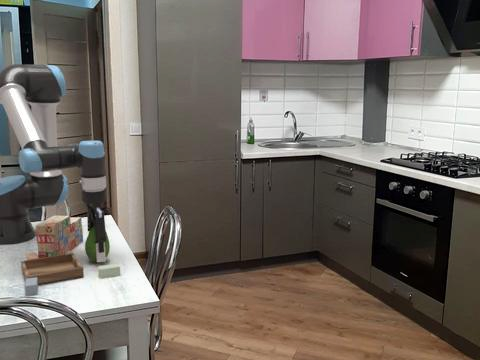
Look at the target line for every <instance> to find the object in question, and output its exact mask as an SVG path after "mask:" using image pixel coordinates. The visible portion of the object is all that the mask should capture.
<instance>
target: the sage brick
mask: <svg viewBox="0 0 480 360" xmlns="http://www.w3.org/2000/svg"><path fill="white" fill-rule="evenodd" d="M97 269H98V271H97V272H98V276H99V279H105V278H108V279H109V278H112V277H113V278H115V277H120V276H121V266H120V264H119V263H114V264H113V263H112V264H105V265H98V266H97Z"/></svg>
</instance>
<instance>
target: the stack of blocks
mask: <svg viewBox="0 0 480 360" xmlns="http://www.w3.org/2000/svg"><path fill="white" fill-rule="evenodd" d="M82 223H83V221H82V217H79V216H77V217H73V216H72V217H71V216H70V215H52V216H50V217H48V218H47V219H45V220H43V221H41V222H39V223H38V224H36V225H35V236H36V243H37V255H38V257H39V258H45V257H51V256H57V255H63V254H69V253H70V251H71V250H73V249H74V248H76V247H77V246H79V245H80V244H81V243H83V242H84V235H83V233H84V232H83V225H82Z"/></svg>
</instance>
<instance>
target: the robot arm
mask: <svg viewBox="0 0 480 360" xmlns="http://www.w3.org/2000/svg"><path fill="white" fill-rule="evenodd" d="M66 92H67V83H66V80H65V76H64V74H63V72H62V70H61V69H60V68H59V67H58V66H56V65H52V64H50V65H49V64H23V63H22V64H20V63H16V64H10V65H8V66H5V67H4V68H2V70H0V105H2V106H3V108H4V111H5V114H6V116H7V118H8V120H9V123H10V125H11V127H12V129H13V132H14V134H15V137H16V138H17V141H18V143H19V145H20V148H21V150H20V151H19V153H18V163H19V168H20V169H21V171H22V172H24V173H26V174H29V177H28V178H26V177H25V175H23V174H20V175H19V174H18V175H10V176H5V177H2V178H1V177H0V245H8V244H9V245H10V244H12V245H13V244H18V243H24V242H27V241H30V240H32V239H34V238H35V236H36V230H35V228H34V226H33V224H32V222H31V220H30V218H29V210H30V209H36V208H37V209H38V208H42V207H43V208H45V207H49V206H51V207H54V206H56V205H61V204H63V203H64V202H65V201H66V199H67V198H68V193H69V183H68V178H67V176H66V175H64V174H63V171H62V170H71V169H79V170H80V179H81V180H79V181H78V182H79V184H81V189H82V191H81V198H82V199H81V200H82V201H81V202H82V203H83V204H85V205H86V210H87V211H86V213H87V214H86V216H87V218H86V219H87V220H86V221H87V229H86V230H87V232H88V233H89V232H90V230H91V229H92V227H94V228H95V234H96V241H95V242H94V243H96V257H97V262H96V263H102V262H106V261H107V260H106V259H107V257H106V255H105V242H106V241H107V239H106V233H107V229H106V222H105V221H106V220H105V211H104V209H103V207H102V205H101V204H102V203H105V202H106V201H107V195H108V194H107V189H106V188H107V177H106V158H105V155H106V153H105V148H104V147H105V146H104V143H103V141H101V140H82V141H80V142H79V143H71V144H68V145H60V146H59V145H58V133H57V131H58V128H57V127H58V126H57V106H58V105H59V104H60V103H61V98H63V97H64V96H65V95H66ZM100 238H101V239H100Z"/></svg>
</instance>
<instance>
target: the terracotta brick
mask: <svg viewBox="0 0 480 360" xmlns="http://www.w3.org/2000/svg"><path fill="white" fill-rule="evenodd" d="M25 255H26V260H32V259H38V258H39V257H38V252H31V253H26V254H25Z"/></svg>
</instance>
